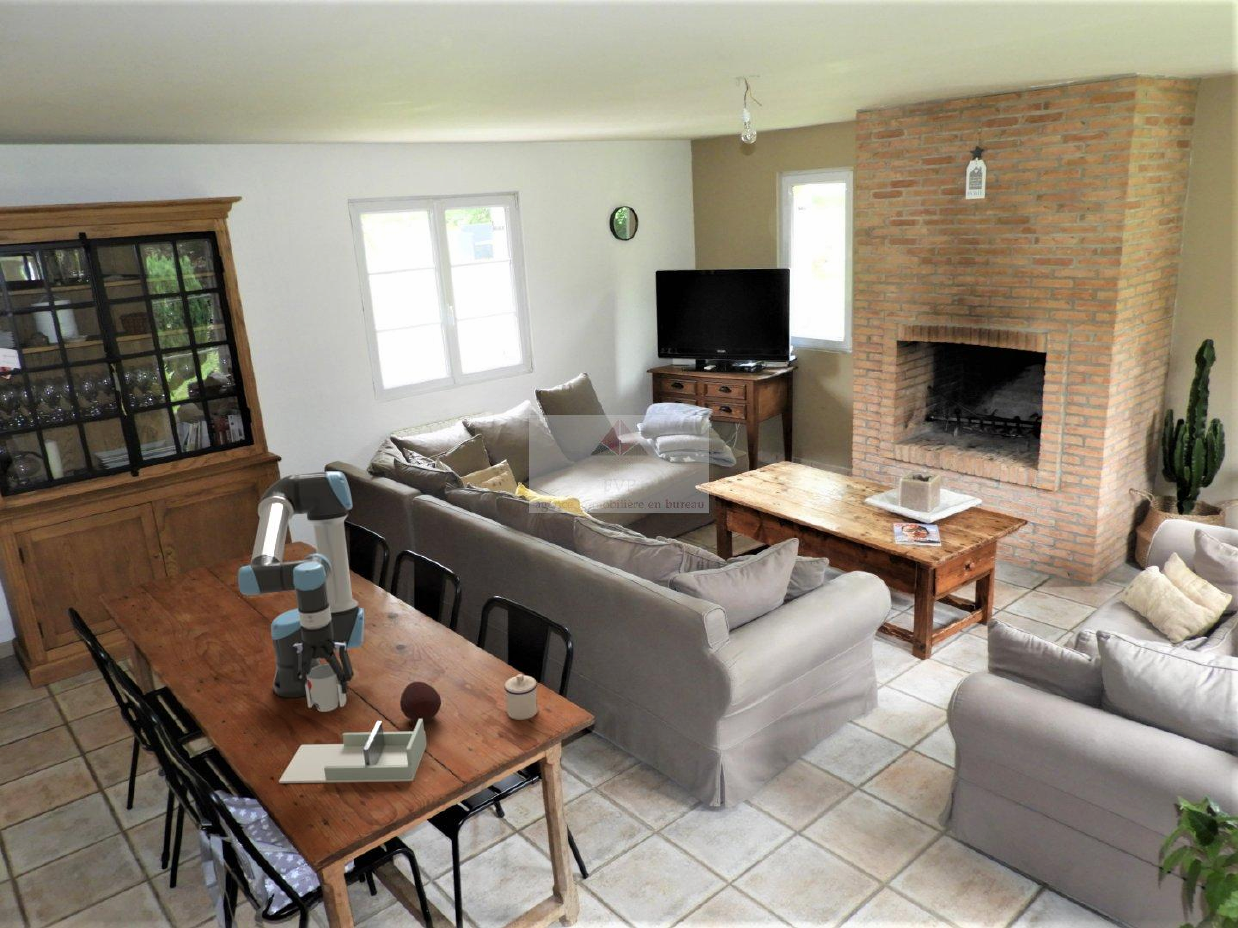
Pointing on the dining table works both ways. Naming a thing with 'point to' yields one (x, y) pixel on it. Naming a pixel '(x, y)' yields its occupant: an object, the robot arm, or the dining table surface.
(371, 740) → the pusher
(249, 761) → the dining table surface
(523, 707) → the teacup with lid
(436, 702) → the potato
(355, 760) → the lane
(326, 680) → the cup
